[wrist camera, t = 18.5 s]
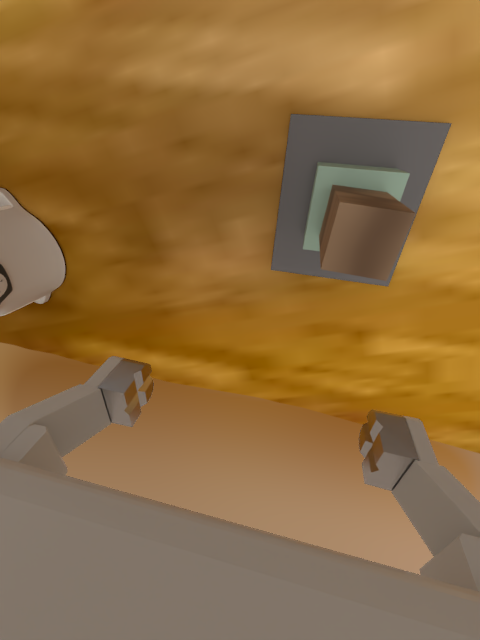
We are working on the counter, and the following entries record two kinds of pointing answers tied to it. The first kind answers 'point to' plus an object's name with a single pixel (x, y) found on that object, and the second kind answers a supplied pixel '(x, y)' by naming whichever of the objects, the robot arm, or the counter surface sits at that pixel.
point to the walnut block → (362, 232)
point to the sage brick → (350, 177)
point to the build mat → (354, 149)
